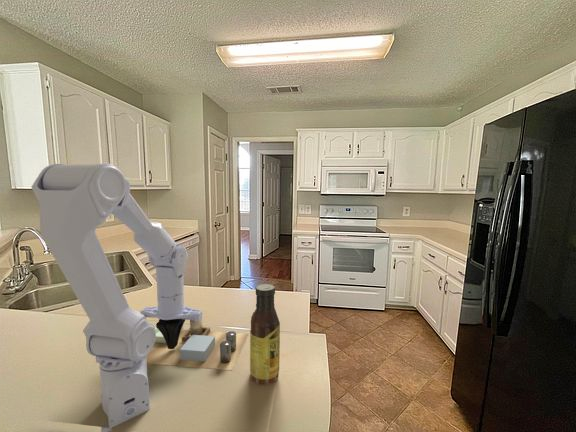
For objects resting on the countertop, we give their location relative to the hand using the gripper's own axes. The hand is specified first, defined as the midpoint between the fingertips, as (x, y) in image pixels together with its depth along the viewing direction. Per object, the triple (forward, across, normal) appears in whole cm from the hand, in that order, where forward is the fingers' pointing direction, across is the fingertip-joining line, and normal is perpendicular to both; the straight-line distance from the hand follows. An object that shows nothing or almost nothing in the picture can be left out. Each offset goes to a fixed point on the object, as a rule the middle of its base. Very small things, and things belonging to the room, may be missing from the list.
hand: (172, 346), depth 61 cm
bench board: (+2, -4, -2) cm, 5 cm away
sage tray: (+1, +5, -6) cm, 8 cm away
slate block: (+1, -6, 0) cm, 7 cm away
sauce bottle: (+2, -24, +5) cm, 24 cm away
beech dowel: (+1, -3, -6) cm, 7 cm away
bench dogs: (+1, -14, 0) cm, 14 cm away
